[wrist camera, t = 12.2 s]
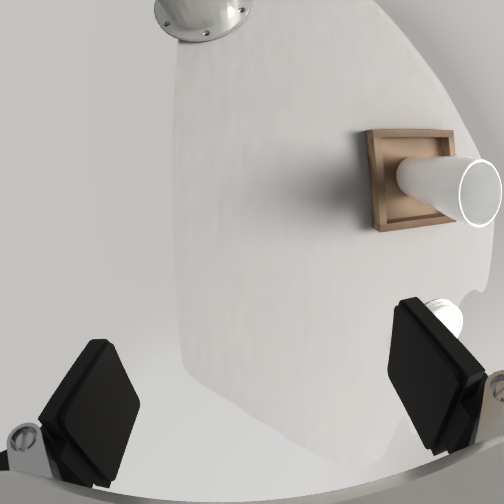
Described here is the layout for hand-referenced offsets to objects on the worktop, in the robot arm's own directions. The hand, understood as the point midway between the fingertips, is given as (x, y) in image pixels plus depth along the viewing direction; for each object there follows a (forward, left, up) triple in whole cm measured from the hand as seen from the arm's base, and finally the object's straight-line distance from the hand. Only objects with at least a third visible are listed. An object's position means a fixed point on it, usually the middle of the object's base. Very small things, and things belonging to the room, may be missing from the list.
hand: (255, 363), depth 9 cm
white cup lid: (+24, +28, -31) cm, 48 cm away
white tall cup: (-1, +22, -30) cm, 37 cm away
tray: (-1, +23, -30) cm, 38 cm away
